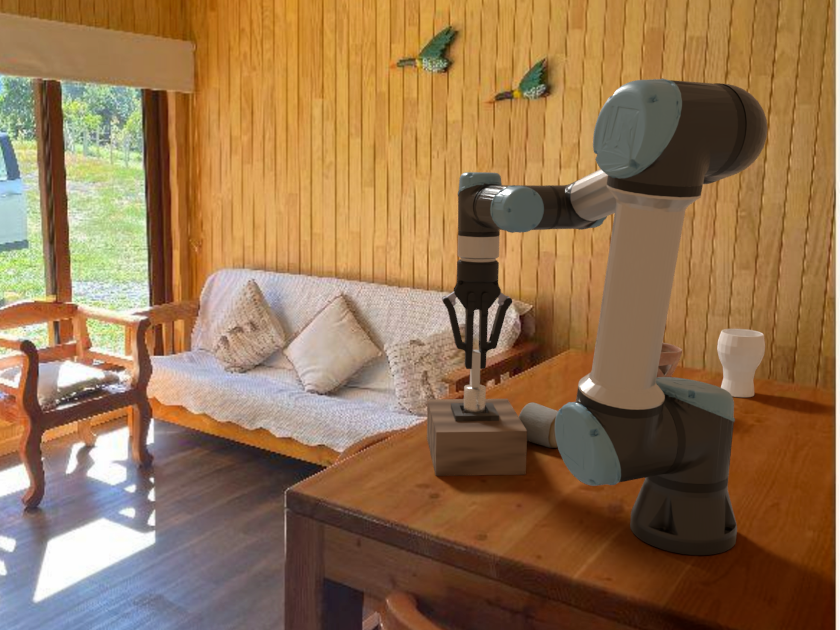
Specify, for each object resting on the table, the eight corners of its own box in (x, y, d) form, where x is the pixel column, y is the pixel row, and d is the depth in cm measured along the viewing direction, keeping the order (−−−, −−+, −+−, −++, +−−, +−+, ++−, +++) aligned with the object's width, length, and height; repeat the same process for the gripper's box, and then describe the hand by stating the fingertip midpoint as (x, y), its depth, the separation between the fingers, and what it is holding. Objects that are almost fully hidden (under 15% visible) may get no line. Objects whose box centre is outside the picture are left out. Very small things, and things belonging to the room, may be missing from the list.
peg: (486, 434, 151) (487, 389, 150) (464, 434, 151) (465, 390, 150) (482, 427, 155) (484, 384, 154) (462, 427, 155) (462, 384, 154)
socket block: (525, 474, 145) (527, 425, 143) (435, 475, 144) (436, 426, 142) (506, 437, 164) (507, 393, 163) (426, 438, 163) (427, 394, 162)
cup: (708, 386, 203) (712, 327, 201) (751, 387, 203) (756, 328, 200) (721, 399, 193) (726, 336, 190) (767, 400, 193) (773, 337, 190)
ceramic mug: (550, 453, 155) (552, 414, 154) (515, 443, 161) (517, 405, 159) (579, 441, 163) (582, 404, 162) (545, 432, 169) (547, 395, 167)
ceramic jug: (681, 421, 176) (686, 356, 174) (612, 413, 181) (617, 350, 178) (683, 400, 193) (688, 341, 190) (620, 393, 197) (624, 335, 195)
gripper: (510, 256, 151) (506, 380, 156) (440, 256, 151) (437, 380, 155) (517, 261, 144) (513, 391, 149) (444, 261, 143) (441, 391, 148)
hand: (474, 385), depth 152 cm, fingers closed
